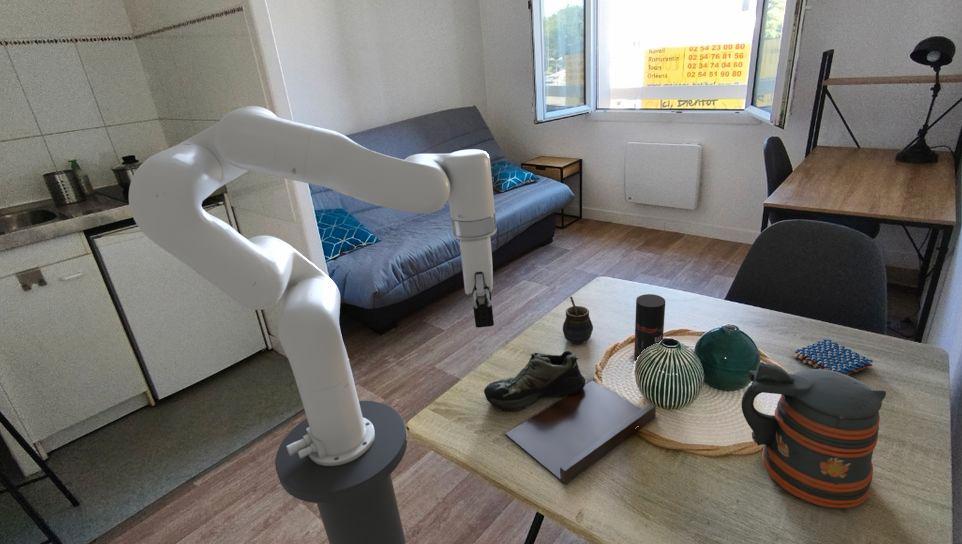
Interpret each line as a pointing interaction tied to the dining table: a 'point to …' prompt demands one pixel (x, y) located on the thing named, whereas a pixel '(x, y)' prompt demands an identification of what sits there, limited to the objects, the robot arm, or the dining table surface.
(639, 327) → the deodorant
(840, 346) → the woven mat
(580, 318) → the mate gourd
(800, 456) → the beer stein
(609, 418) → the shoe shelf
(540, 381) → the hiking shoe
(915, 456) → the dining table surface
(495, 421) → the dining table surface
